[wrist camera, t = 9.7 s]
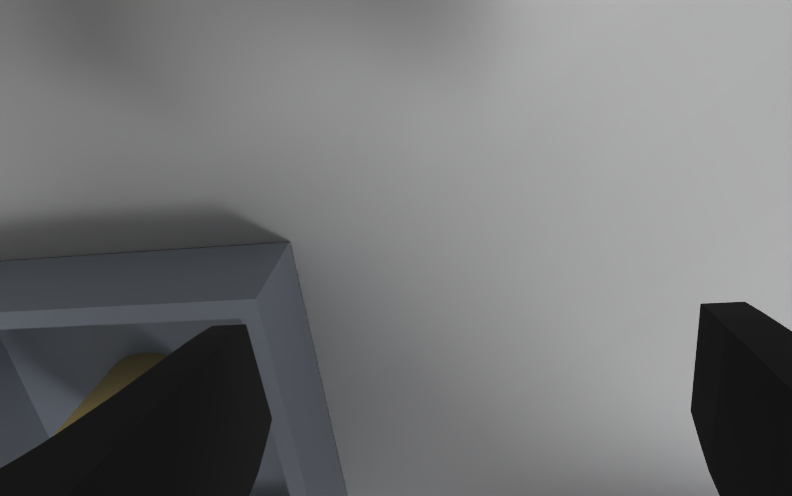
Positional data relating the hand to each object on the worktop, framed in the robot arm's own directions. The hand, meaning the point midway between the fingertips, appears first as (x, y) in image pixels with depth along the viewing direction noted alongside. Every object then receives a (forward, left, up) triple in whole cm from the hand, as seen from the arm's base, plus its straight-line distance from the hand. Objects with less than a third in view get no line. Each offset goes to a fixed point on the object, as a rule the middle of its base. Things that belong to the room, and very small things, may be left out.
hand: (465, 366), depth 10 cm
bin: (+12, +8, -9) cm, 17 cm away
